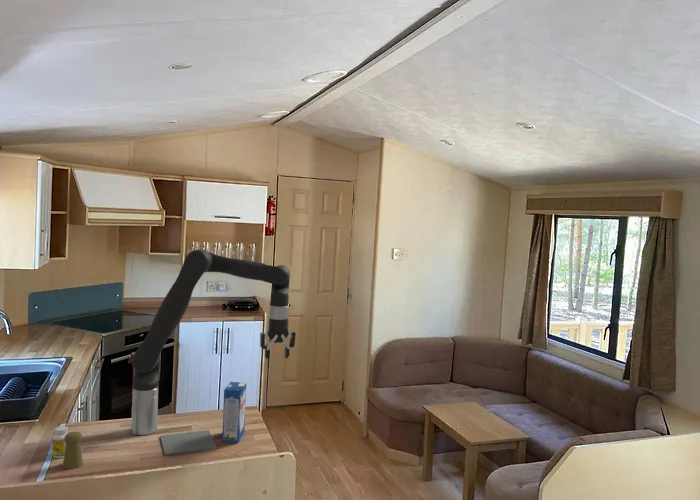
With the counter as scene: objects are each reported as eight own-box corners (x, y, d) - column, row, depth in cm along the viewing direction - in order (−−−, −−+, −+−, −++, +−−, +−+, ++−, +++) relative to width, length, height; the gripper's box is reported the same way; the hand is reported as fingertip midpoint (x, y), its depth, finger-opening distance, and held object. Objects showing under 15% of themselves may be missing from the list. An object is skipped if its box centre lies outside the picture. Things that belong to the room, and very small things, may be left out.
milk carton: (228, 431, 217) (230, 381, 215) (244, 432, 217) (246, 382, 215) (222, 442, 207) (224, 390, 205) (238, 443, 207) (240, 391, 205)
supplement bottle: (73, 453, 191) (73, 426, 191) (60, 460, 186) (60, 432, 186) (61, 450, 193) (62, 423, 193) (48, 456, 188) (48, 429, 188)
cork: (86, 461, 186) (86, 429, 186) (77, 469, 180) (78, 437, 180) (67, 460, 186) (68, 429, 185) (59, 469, 180) (59, 436, 179)
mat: (164, 455, 194) (164, 453, 194) (160, 437, 208) (160, 435, 208) (216, 448, 201) (216, 446, 201) (208, 431, 216) (208, 429, 216)
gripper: (293, 314, 221) (291, 354, 222) (258, 315, 215) (256, 357, 216) (299, 318, 214) (297, 359, 216) (263, 319, 208) (261, 362, 210)
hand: (276, 358), depth 216 cm, fingers open, 7 cm apart
